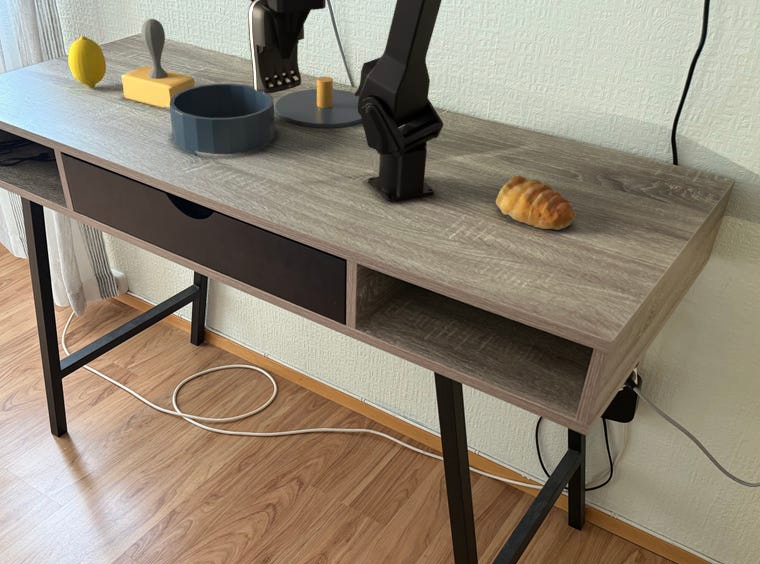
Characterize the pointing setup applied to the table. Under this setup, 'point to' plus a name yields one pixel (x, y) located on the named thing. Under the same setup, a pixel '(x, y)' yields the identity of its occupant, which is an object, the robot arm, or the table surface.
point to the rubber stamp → (154, 72)
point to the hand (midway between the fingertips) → (278, 53)
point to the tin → (222, 119)
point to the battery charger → (270, 53)
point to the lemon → (87, 61)
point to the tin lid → (320, 106)
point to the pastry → (534, 204)
